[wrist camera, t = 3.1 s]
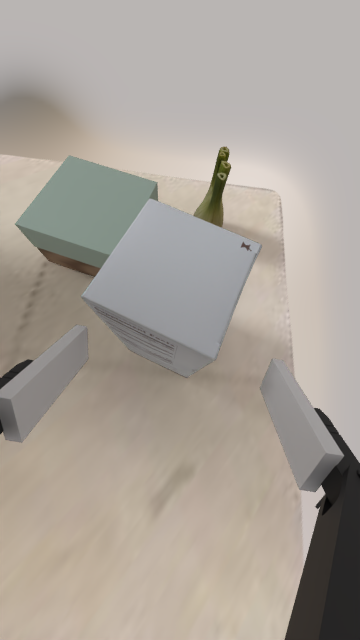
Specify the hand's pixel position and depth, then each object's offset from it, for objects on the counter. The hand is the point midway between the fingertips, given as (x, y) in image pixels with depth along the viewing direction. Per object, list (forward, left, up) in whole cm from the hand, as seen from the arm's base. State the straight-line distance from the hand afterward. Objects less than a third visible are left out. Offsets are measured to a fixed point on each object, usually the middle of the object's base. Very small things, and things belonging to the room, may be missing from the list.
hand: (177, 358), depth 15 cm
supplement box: (-2, +5, -14) cm, 15 cm away
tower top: (-17, +16, -10) cm, 25 cm away
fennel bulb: (-3, +24, -14) cm, 28 cm away
